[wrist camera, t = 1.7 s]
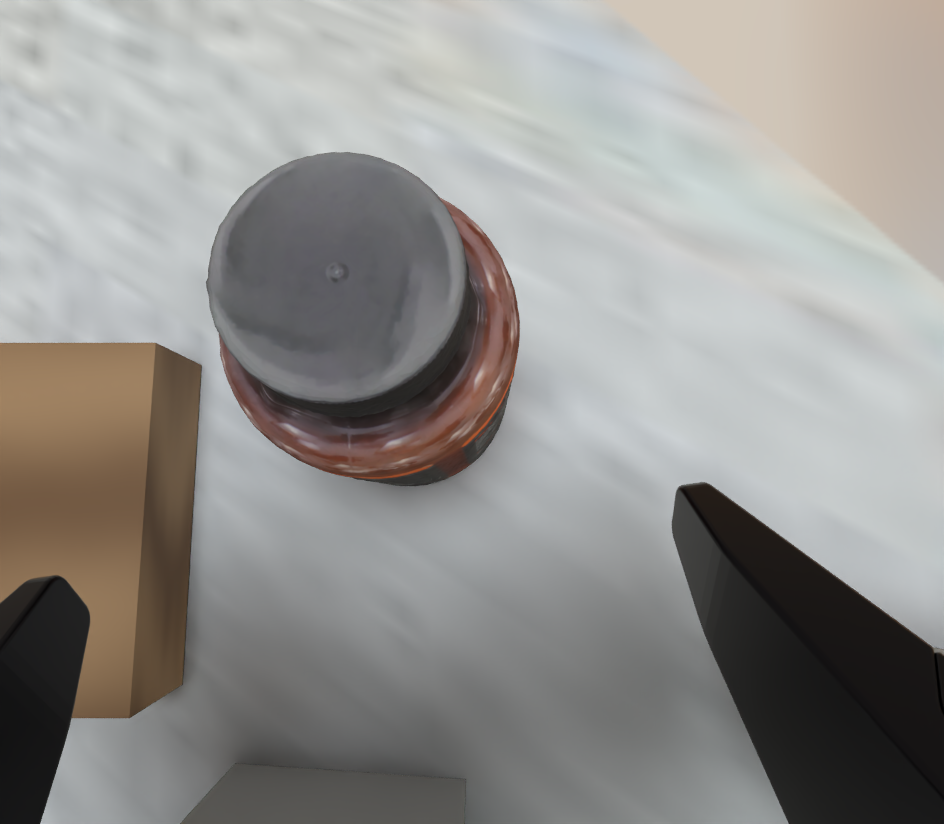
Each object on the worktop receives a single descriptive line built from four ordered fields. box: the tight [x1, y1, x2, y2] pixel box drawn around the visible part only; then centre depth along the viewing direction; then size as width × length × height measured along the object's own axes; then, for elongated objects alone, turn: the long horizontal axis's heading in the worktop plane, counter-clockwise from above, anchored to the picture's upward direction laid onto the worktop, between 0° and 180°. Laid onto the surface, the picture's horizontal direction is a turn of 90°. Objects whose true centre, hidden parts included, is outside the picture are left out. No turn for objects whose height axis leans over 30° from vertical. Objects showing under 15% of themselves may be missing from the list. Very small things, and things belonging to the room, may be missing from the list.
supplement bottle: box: [206, 152, 520, 486], centre depth 15 cm, size 6×6×11 cm
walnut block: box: [0, 343, 201, 718], centre depth 19 cm, size 10×10×3 cm
